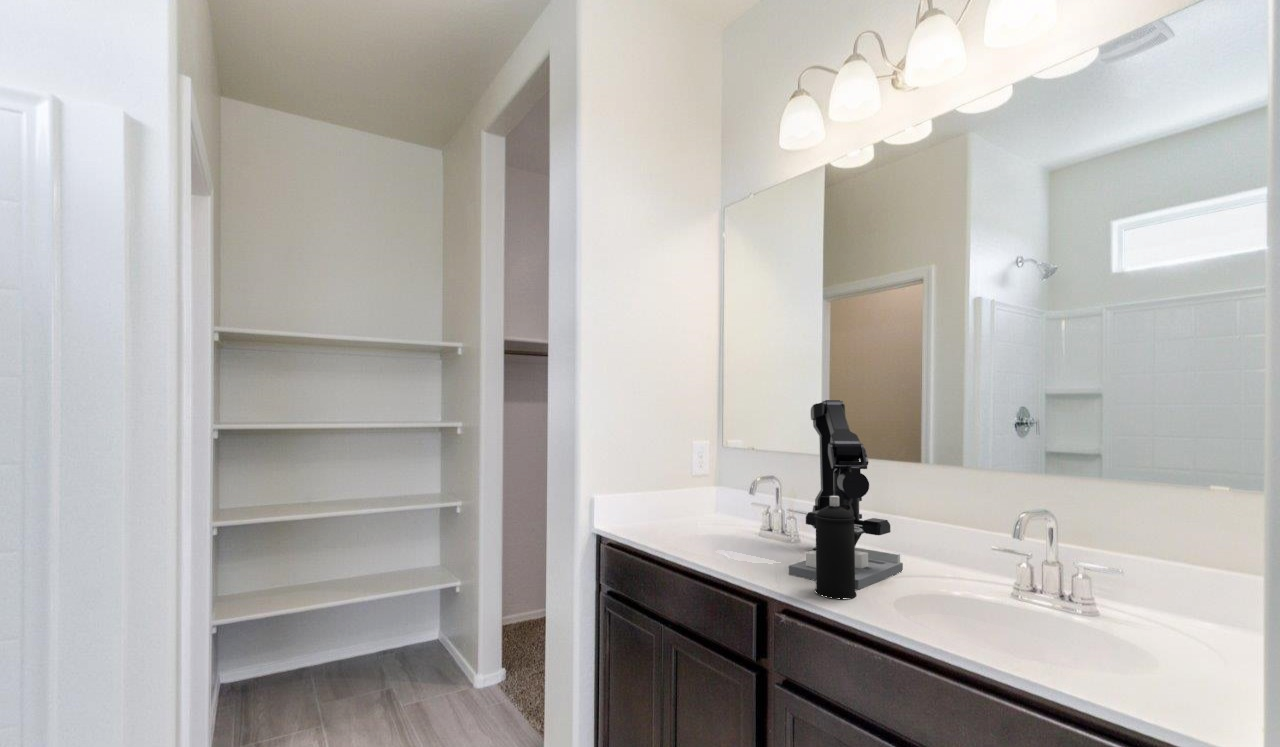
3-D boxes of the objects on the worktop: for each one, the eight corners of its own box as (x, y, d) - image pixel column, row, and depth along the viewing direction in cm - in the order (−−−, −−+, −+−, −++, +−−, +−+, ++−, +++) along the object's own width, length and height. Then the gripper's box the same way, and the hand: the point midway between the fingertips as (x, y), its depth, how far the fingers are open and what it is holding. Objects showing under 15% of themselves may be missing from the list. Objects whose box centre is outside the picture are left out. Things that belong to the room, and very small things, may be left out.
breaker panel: (836, 558, 161) (836, 542, 161) (902, 571, 149) (902, 554, 149) (788, 574, 146) (788, 556, 146) (858, 589, 133) (858, 570, 134)
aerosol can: (859, 600, 126) (857, 499, 127) (816, 598, 127) (815, 498, 128) (853, 589, 134) (852, 494, 135) (813, 587, 135) (812, 493, 137)
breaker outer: (813, 563, 147) (813, 550, 148) (824, 565, 145) (824, 552, 145) (805, 565, 145) (805, 552, 145) (817, 568, 143) (817, 554, 143)
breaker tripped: (855, 563, 147) (855, 550, 147) (868, 566, 145) (867, 552, 145) (849, 566, 145) (849, 553, 145) (861, 568, 143) (861, 555, 143)
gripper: (792, 491, 149) (793, 558, 148) (867, 499, 136) (868, 573, 135) (817, 487, 157) (818, 551, 156) (891, 495, 143) (892, 564, 142)
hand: (847, 559), depth 147 cm, fingers closed
